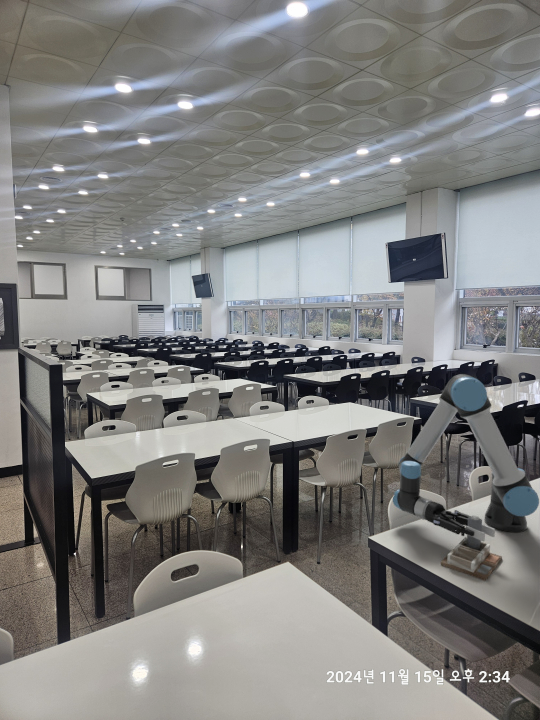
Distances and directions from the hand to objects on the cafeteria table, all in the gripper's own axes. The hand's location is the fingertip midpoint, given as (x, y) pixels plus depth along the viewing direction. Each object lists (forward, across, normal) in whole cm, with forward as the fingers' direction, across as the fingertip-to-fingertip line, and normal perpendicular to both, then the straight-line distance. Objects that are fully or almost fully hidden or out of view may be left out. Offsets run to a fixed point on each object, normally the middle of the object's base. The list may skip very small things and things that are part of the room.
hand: (489, 535), depth 155 cm
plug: (-5, 0, -9) cm, 10 cm away
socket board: (-3, +4, -10) cm, 11 cm away
